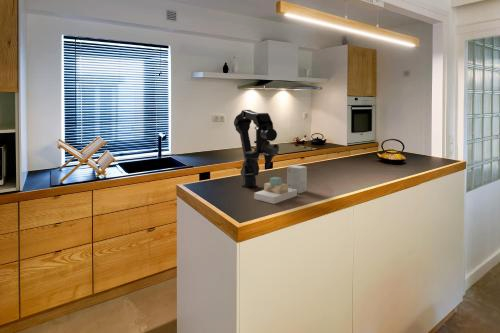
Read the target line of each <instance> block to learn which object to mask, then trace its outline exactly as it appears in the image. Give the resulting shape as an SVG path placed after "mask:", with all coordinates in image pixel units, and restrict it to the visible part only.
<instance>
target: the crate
mask: <svg viewBox="0 0 500 333" xmlns="http://www.w3.org/2000/svg"><path fill="white" fill-rule="evenodd" d="M269 182H270V184H271V185H276V186H277V185H280V184H283V182H282V177H280V176H279V177H278V176H273V177H270V178H269Z"/></svg>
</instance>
